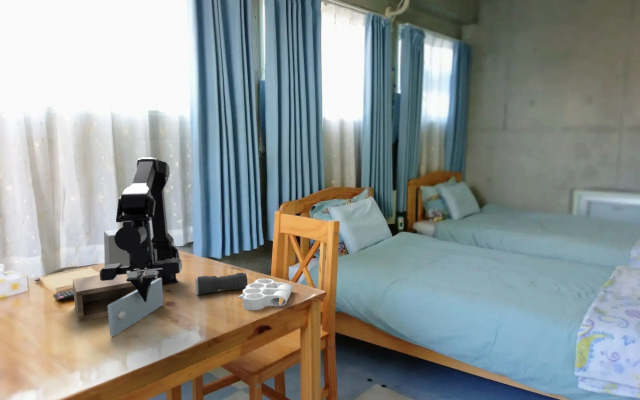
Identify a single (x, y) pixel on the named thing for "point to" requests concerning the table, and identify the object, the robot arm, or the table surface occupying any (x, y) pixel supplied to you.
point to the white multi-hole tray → (265, 294)
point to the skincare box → (114, 250)
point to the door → (134, 307)
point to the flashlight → (220, 283)
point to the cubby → (99, 294)
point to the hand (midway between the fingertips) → (145, 301)
